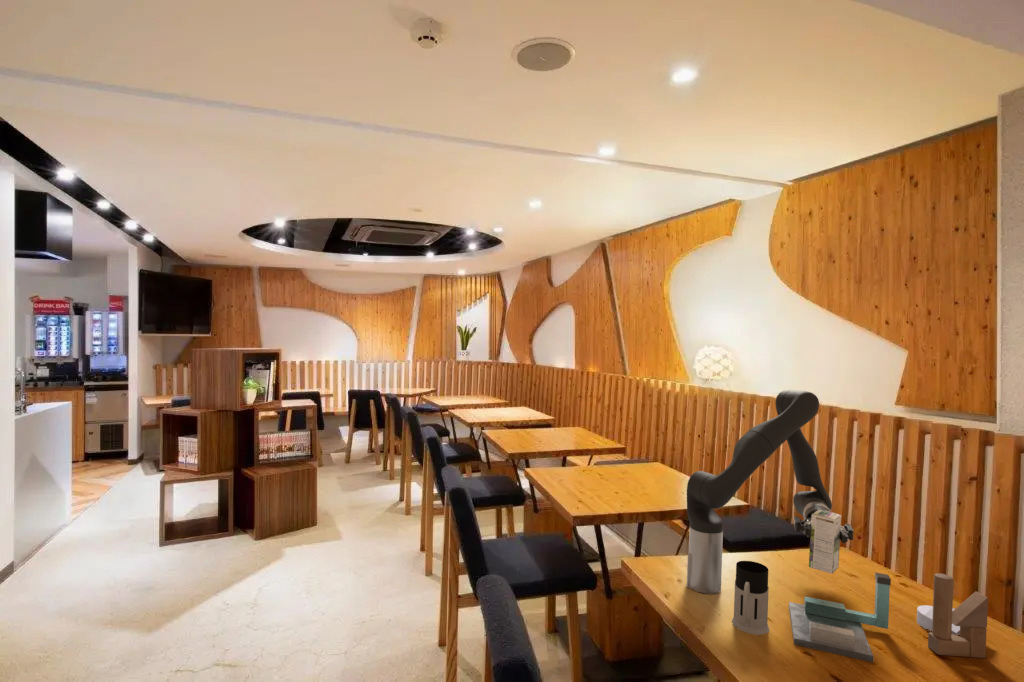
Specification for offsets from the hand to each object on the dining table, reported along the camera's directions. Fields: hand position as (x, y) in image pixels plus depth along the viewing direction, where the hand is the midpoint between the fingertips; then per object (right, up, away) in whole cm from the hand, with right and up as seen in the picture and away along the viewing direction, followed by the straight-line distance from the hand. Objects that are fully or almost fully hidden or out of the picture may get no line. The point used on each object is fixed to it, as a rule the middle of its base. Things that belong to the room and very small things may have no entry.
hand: (826, 536), depth 142 cm
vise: (-4, -22, -6) cm, 23 cm away
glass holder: (-23, -21, -6) cm, 32 cm away
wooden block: (+23, -23, -14) cm, 35 cm away
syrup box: (+1, -9, +2) cm, 9 cm away
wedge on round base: (+28, -23, -4) cm, 36 cm away
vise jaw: (+4, -20, -2) cm, 21 cm away
